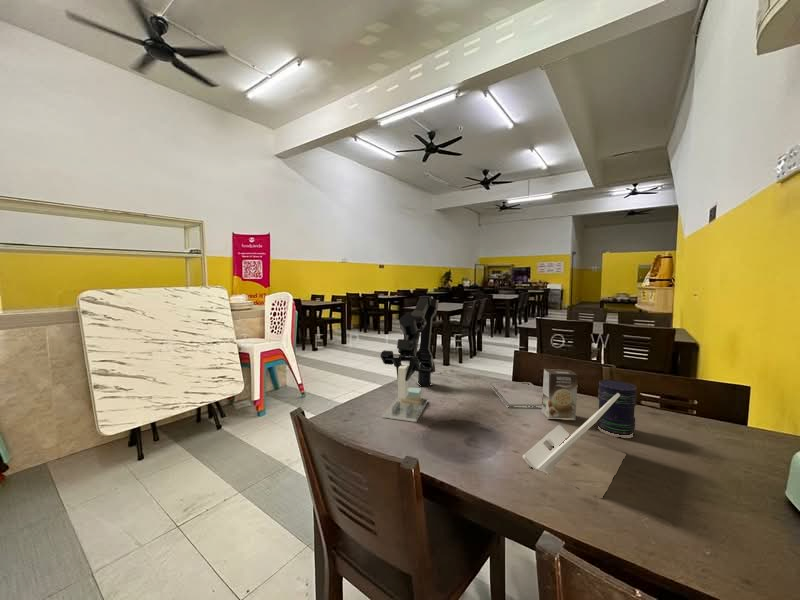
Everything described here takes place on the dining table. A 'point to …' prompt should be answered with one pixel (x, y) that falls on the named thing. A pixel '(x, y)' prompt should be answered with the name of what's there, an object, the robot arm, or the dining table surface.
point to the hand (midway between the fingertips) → (402, 380)
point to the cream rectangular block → (402, 381)
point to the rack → (405, 410)
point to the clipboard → (515, 404)
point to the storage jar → (617, 407)
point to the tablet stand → (547, 459)
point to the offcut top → (414, 392)
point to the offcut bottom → (411, 399)
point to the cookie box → (559, 393)
